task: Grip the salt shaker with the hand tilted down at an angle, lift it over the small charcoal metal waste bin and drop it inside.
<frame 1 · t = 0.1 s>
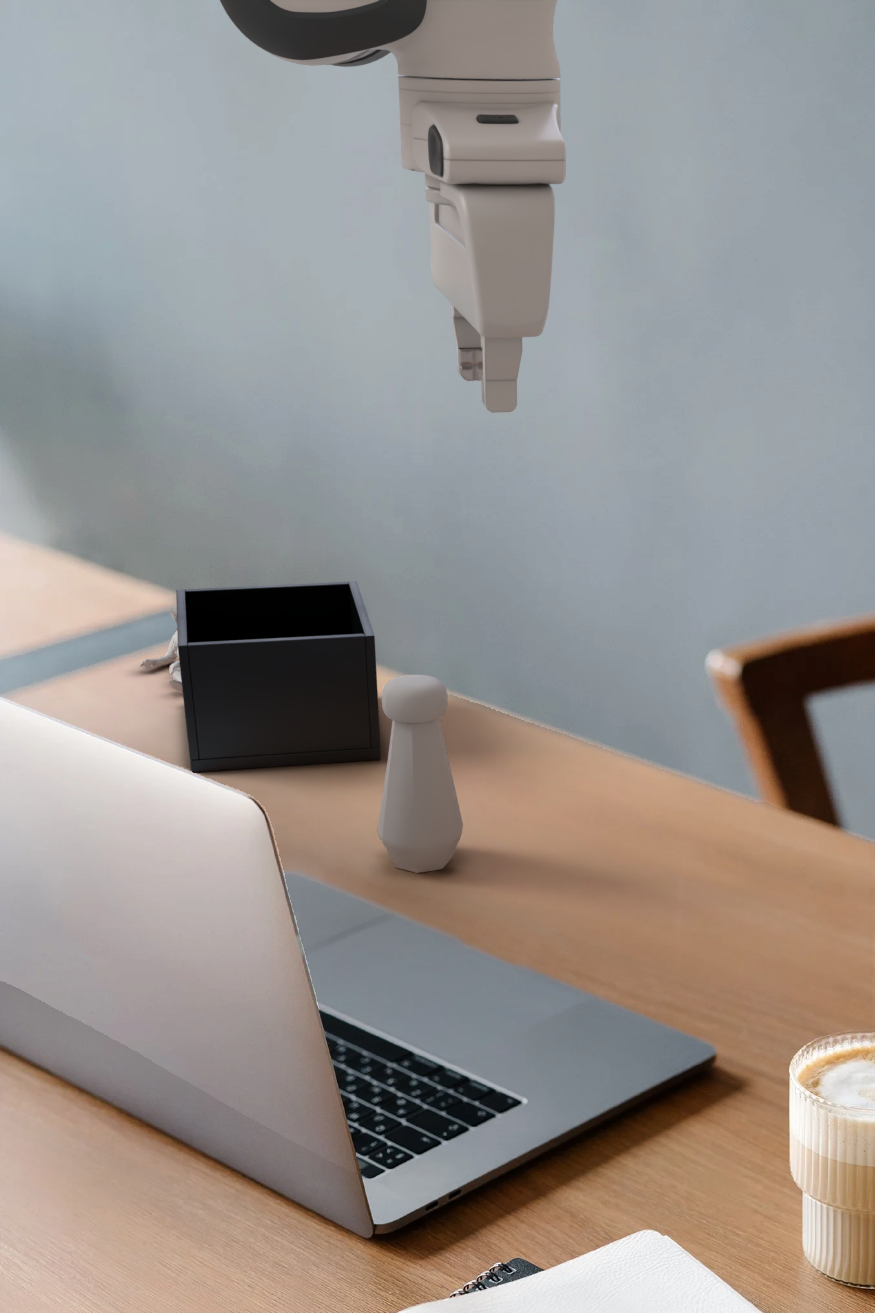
hand: (486, 393, 106), 32 cm above the table, tool pointing down, fingers open, 8 cm apart
waste bin: (281, 732, 145), on the table
soldier figure: (189, 674, 157), on the table
salt shaker: (421, 862, 124), on the table
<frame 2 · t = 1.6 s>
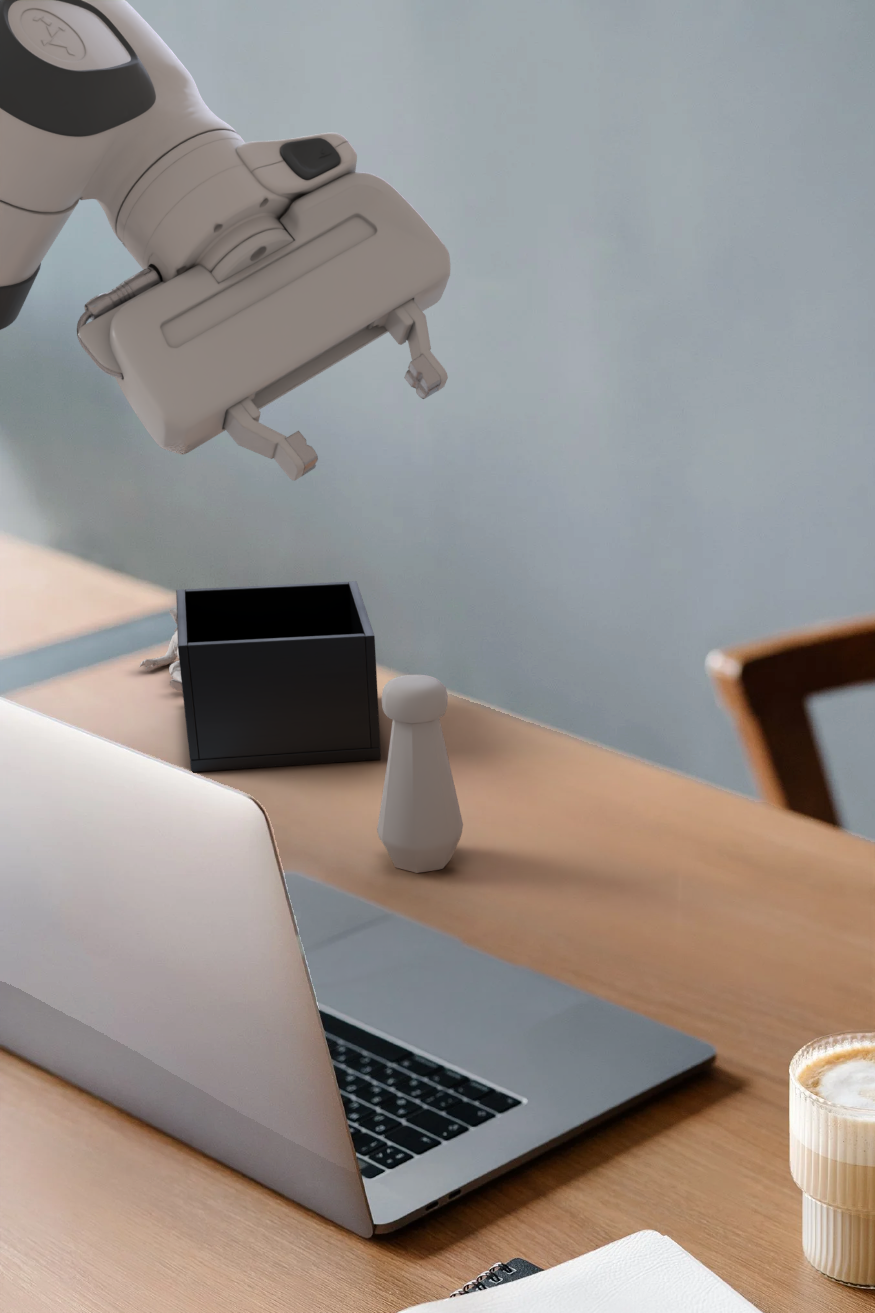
hand: (372, 428, 101), 31 cm above the table, tool tilted 45°, fingers open, 8 cm apart
nothing on the table moved.
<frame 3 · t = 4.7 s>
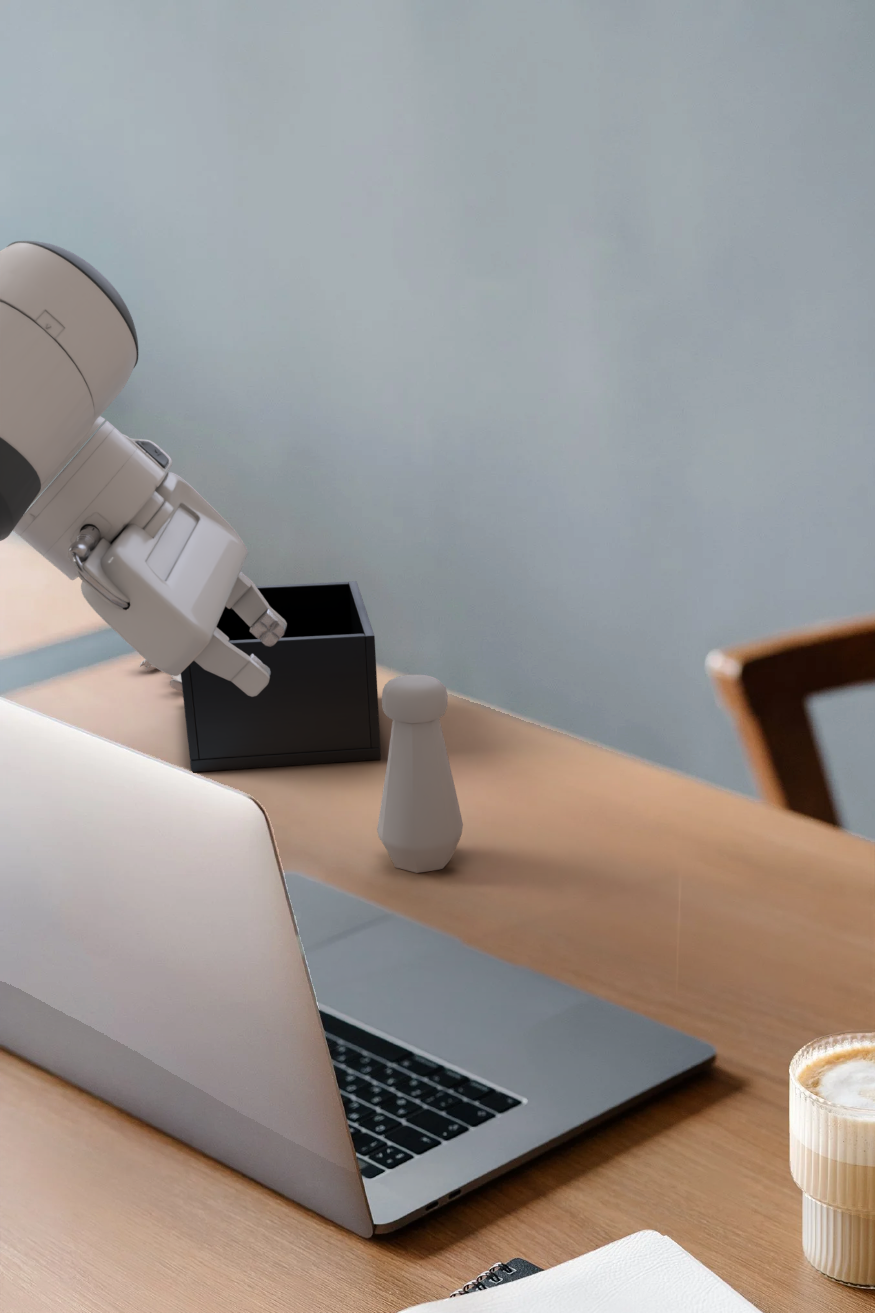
hand: (272, 660, 116), 15 cm above the table, tool tilted 45°, fingers open, 8 cm apart
nothing on the table moved.
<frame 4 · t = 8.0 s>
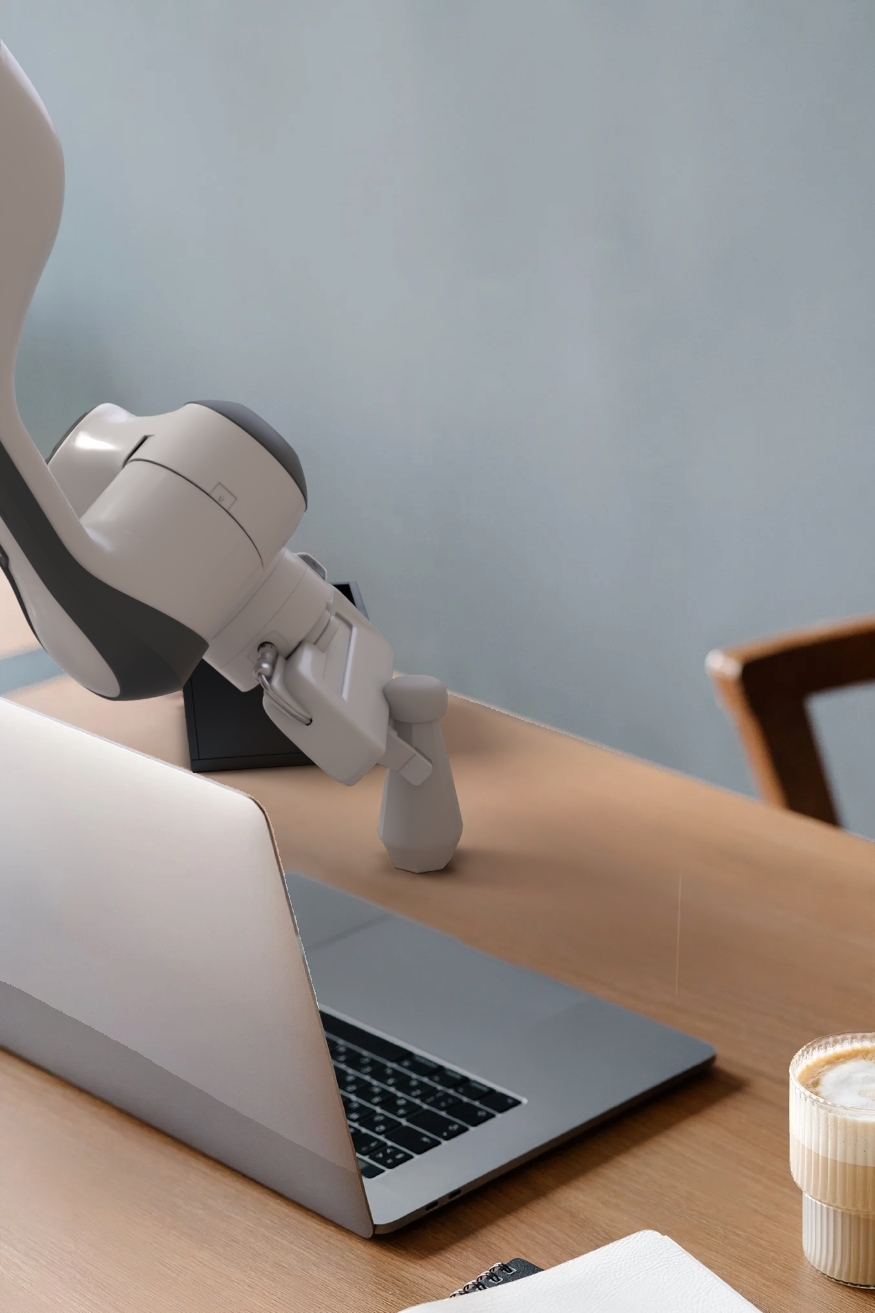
hand: (426, 763, 121), 7 cm above the table, tool tilted 45°, fingers closed on salt shaker, 3 cm apart
salt shaker: (421, 862, 124), on the table, touching gripper
everything else where it was.
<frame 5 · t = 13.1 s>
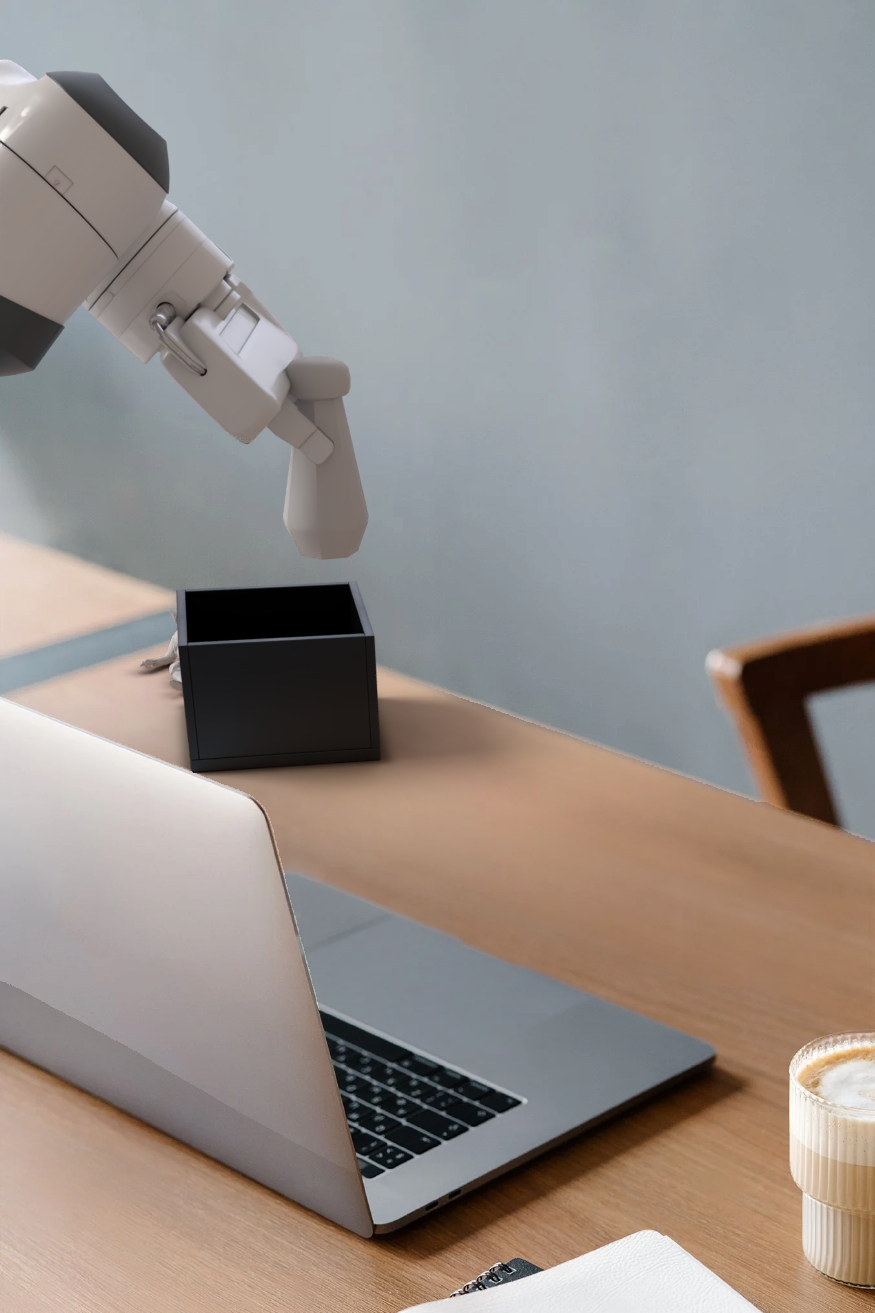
hand: (330, 448, 123), 25 cm above the table, tool tilted 45°, fingers closed on salt shaker, 3 cm apart
salt shaker: (328, 554, 126), point 18 cm above the table, touching gripper
everything else where it was.
when the fingers open (11 cm above the table, at t = 18.3 s): salt shaker drops 3 cm, resting on waste bin.
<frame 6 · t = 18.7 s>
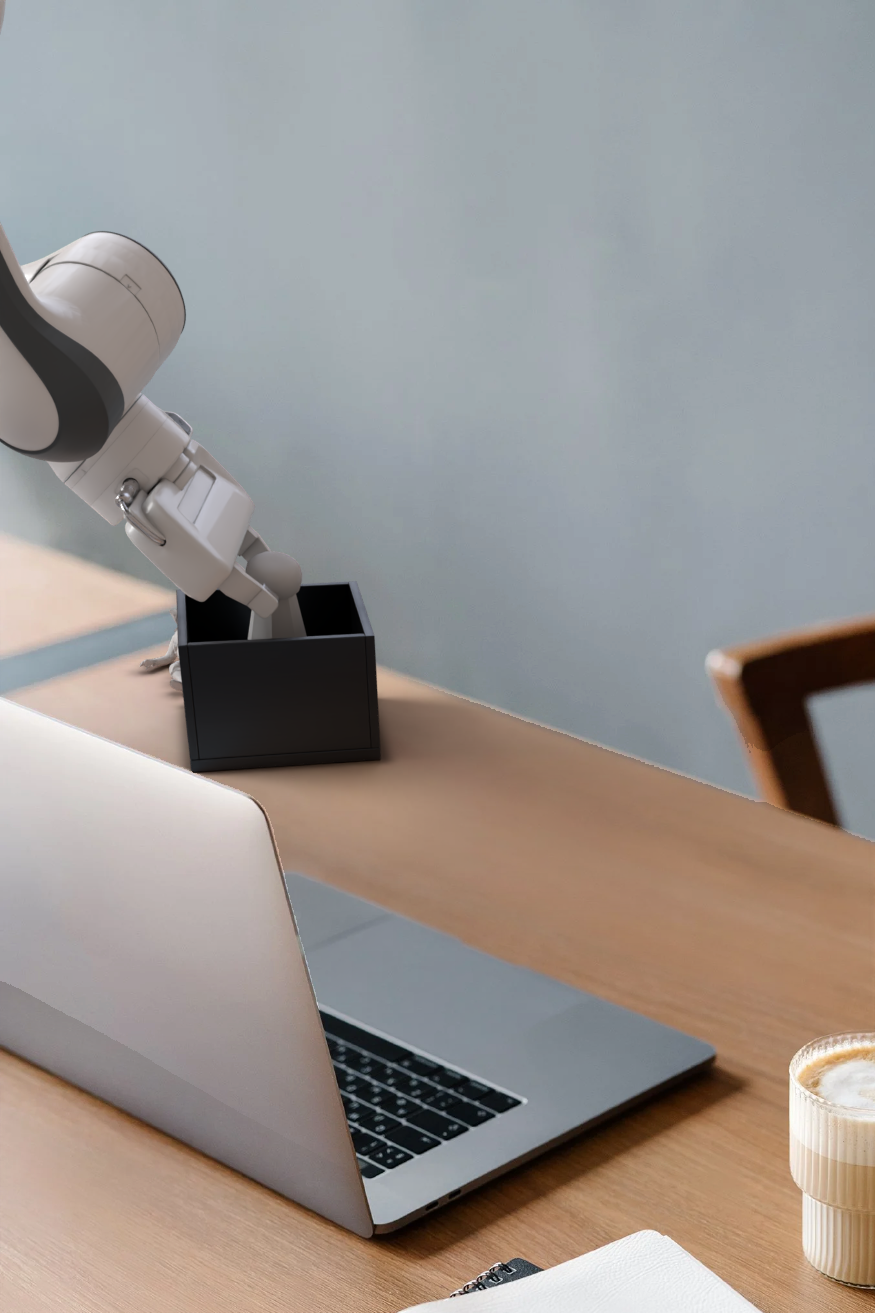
hand: (278, 594, 139), 11 cm above the table, tool tilted 45°, fingers open, 6 cm apart
salt shaker: (280, 698, 147), point 1 cm above the table, touching waste bin
everything else where it was.
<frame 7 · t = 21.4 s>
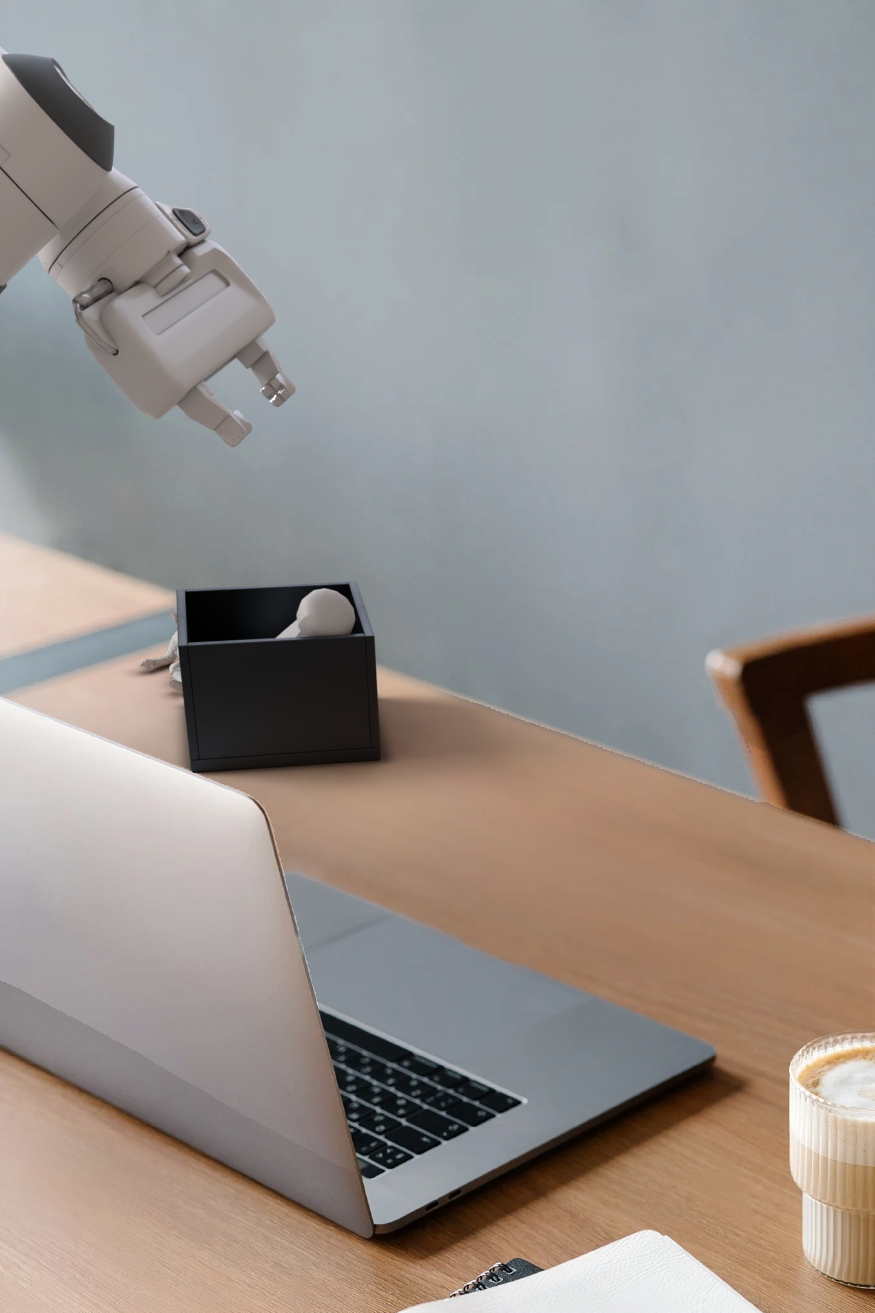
hand: (266, 418, 132), 25 cm above the table, tool tilted 40°, fingers open, 8 cm apart
salt shaker: (283, 687, 147), point 3 cm above the table, touching waste bin
everything else where it was.
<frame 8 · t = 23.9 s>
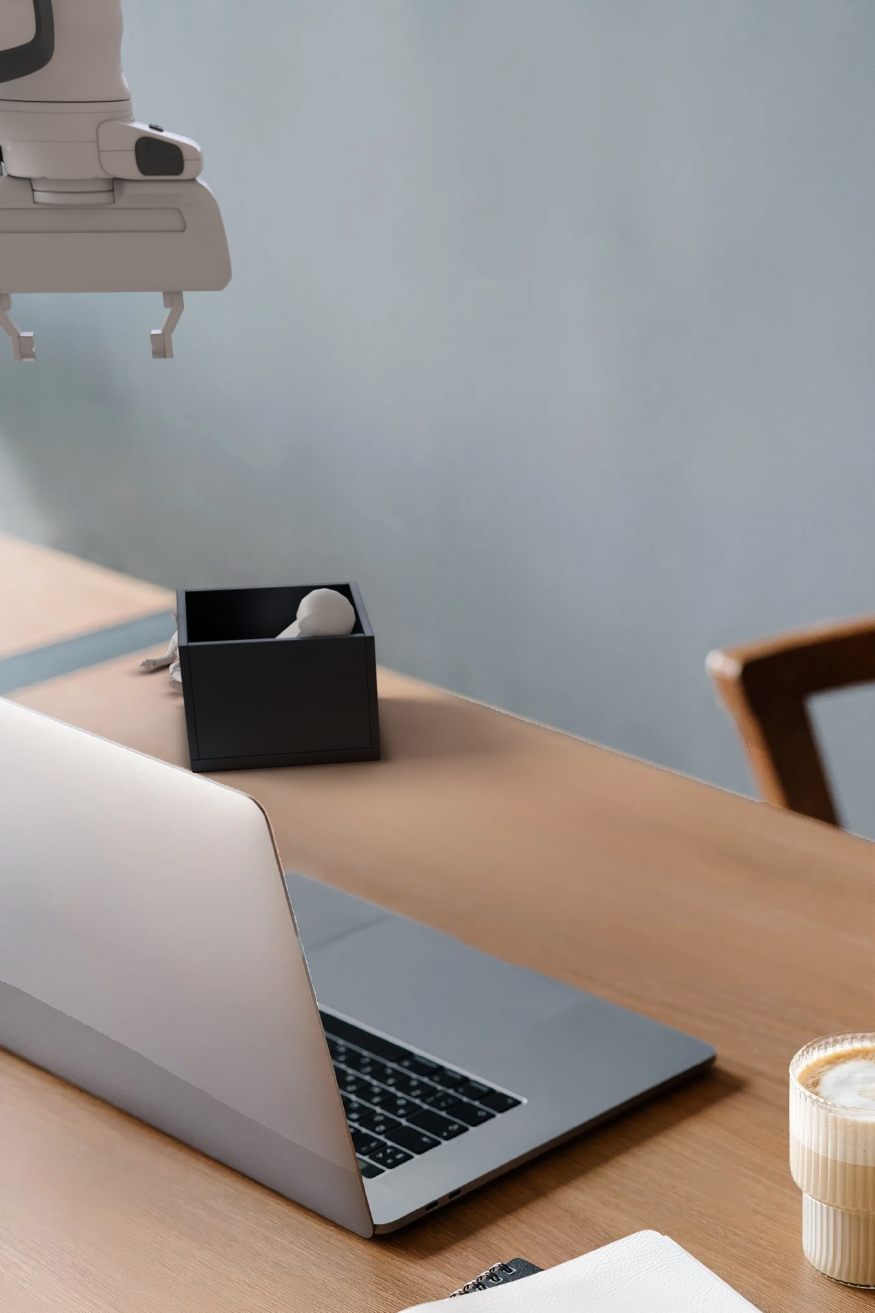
hand: (95, 358, 129), 29 cm above the table, tool pointing down, fingers open, 8 cm apart
nothing on the table moved.
at the end: salt shaker inside the target area in the waste bin (3.5 cm from its centre), point 2.6 cm above the waste bin's base; the gripper is holding nothing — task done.
